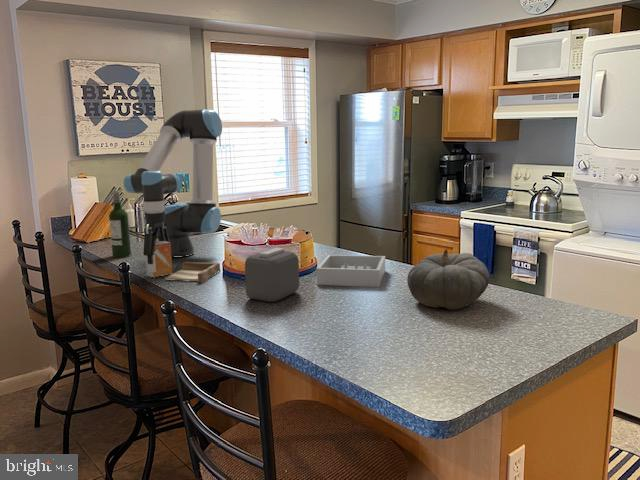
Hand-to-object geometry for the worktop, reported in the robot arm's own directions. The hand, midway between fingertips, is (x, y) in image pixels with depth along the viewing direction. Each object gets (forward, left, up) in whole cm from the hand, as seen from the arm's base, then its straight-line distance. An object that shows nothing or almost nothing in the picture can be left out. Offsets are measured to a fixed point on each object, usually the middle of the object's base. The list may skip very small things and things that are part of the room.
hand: (159, 268), depth 214 cm
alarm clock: (+21, +53, -3) cm, 57 cm away
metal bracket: (-5, +76, -3) cm, 76 cm away
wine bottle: (-31, -35, -3) cm, 47 cm away
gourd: (+21, +109, -3) cm, 111 cm away
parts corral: (-6, +75, -3) cm, 75 cm away
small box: (0, 0, -3) cm, 3 cm away
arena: (0, +13, -3) cm, 13 cm away
